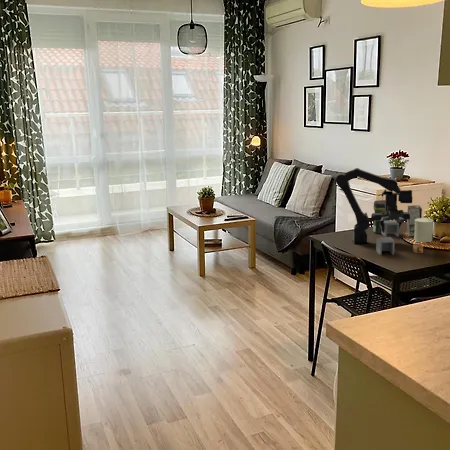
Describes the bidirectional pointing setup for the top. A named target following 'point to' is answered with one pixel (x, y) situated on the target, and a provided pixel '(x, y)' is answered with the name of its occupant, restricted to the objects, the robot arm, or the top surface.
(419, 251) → the letter cube
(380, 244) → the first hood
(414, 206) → the coffee box
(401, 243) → the top surface
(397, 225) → the grey arch block
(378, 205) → the coffee jar
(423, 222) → the can
